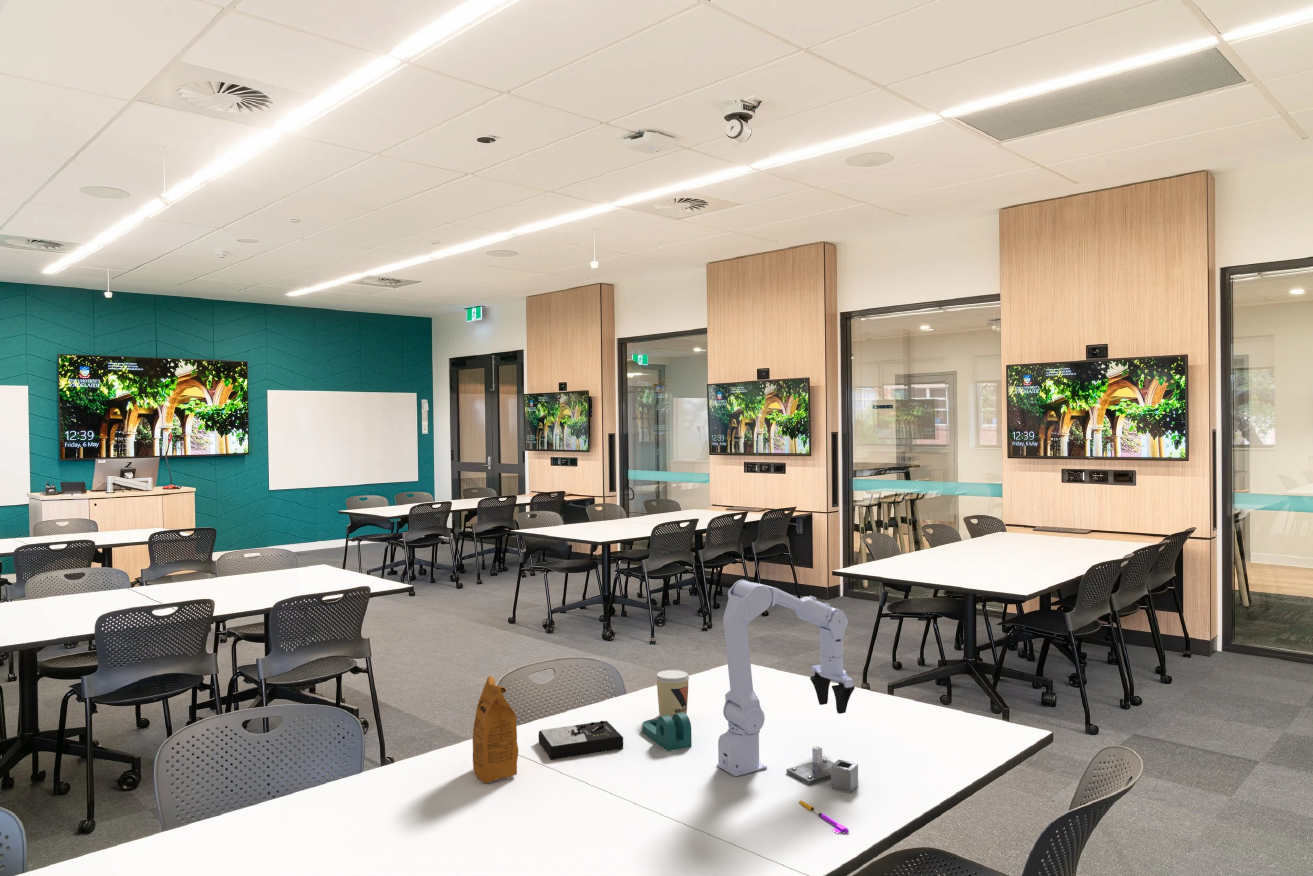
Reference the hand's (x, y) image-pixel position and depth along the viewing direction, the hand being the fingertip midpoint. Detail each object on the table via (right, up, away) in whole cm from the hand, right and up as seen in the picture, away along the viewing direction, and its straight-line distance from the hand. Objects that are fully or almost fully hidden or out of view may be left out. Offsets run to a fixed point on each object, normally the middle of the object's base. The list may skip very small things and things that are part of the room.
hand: (832, 708), depth 213 cm
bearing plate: (-7, -10, -16) cm, 20 cm away
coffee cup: (-40, -11, +25) cm, 48 cm away
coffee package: (-83, -11, -13) cm, 85 cm away
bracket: (-43, -11, +9) cm, 45 cm away
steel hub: (-2, -10, -24) cm, 26 cm away
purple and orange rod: (-11, -11, -39) cm, 42 cm away
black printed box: (-64, -12, +4) cm, 65 cm away
